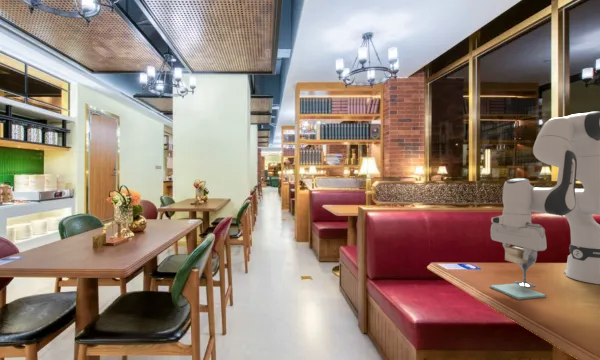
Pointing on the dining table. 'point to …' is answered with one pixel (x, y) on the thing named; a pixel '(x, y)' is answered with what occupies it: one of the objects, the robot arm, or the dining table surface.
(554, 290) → the dining table surface
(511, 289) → the pad
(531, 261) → the wine glass
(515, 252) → the cube
